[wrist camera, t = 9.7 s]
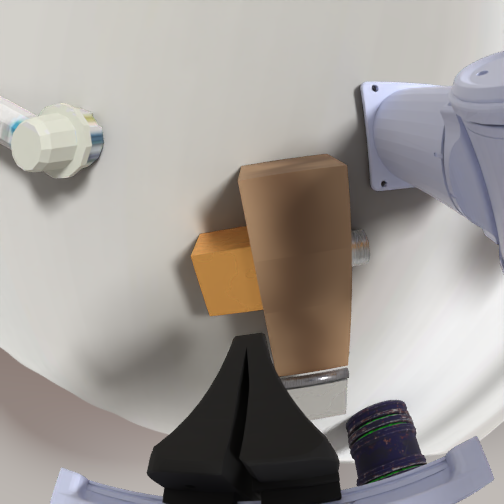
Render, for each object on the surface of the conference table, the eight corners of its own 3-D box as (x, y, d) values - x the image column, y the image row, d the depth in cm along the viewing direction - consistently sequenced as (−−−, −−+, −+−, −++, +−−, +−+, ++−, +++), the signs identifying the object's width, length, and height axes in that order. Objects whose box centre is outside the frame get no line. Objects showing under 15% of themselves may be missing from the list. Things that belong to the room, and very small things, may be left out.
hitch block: (327, 153, 19) (347, 165, 15) (336, 329, 26) (347, 365, 22) (241, 166, 19) (237, 180, 15) (273, 339, 26) (276, 377, 22)
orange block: (215, 288, 24) (209, 316, 21) (200, 233, 22) (190, 256, 18) (358, 266, 23) (373, 291, 19) (357, 209, 20) (375, 227, 17)
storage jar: (344, 438, 37) (358, 517, 24) (344, 411, 33) (364, 508, 20) (401, 421, 36) (424, 495, 23) (411, 391, 32) (444, 479, 18)
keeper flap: (346, 365, 22) (349, 372, 21) (345, 407, 23) (347, 414, 22) (277, 376, 22) (278, 383, 21) (284, 417, 24) (285, 424, 23)
